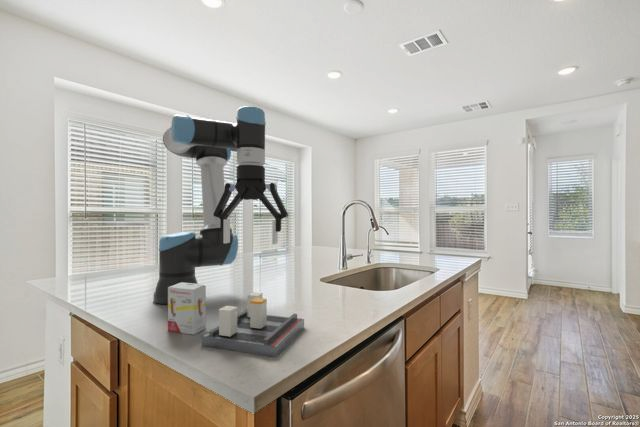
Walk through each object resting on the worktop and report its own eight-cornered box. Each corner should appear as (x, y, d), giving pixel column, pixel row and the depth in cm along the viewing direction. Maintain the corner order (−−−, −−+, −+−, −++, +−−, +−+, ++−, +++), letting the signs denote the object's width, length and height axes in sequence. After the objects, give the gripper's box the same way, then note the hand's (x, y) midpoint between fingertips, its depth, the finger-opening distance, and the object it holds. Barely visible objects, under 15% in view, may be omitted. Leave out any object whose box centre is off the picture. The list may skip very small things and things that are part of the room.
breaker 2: (247, 316, 86) (247, 294, 86) (252, 313, 89) (252, 292, 89) (257, 318, 86) (257, 295, 85) (262, 314, 88) (262, 293, 88)
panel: (201, 345, 74) (201, 330, 74) (242, 319, 91) (242, 307, 91) (276, 357, 69) (276, 341, 69) (304, 327, 86) (304, 314, 86)
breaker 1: (219, 335, 74) (219, 309, 74) (226, 330, 77) (226, 305, 77) (230, 336, 73) (230, 310, 73) (237, 331, 76) (237, 306, 76)
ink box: (166, 331, 83) (166, 286, 83) (180, 324, 87) (180, 282, 87) (193, 335, 80) (193, 288, 80) (206, 328, 85) (206, 284, 85)
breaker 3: (250, 327, 79) (250, 300, 79) (256, 323, 82) (256, 297, 82) (261, 328, 78) (261, 302, 78) (266, 324, 81) (266, 298, 81)
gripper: (200, 164, 84) (200, 243, 84) (293, 163, 81) (292, 245, 82) (213, 167, 91) (213, 241, 92) (298, 167, 89) (298, 242, 89)
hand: (250, 243), depth 87 cm, fingers open, 13 cm apart
